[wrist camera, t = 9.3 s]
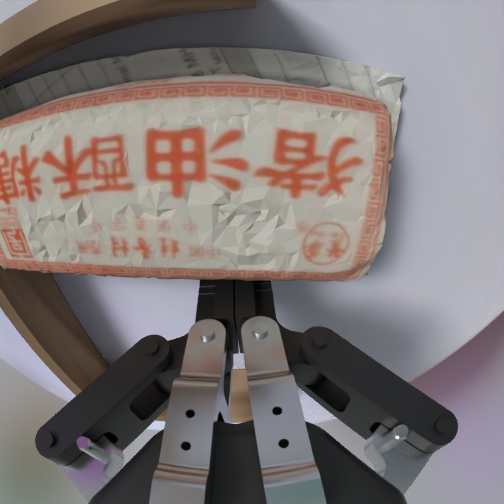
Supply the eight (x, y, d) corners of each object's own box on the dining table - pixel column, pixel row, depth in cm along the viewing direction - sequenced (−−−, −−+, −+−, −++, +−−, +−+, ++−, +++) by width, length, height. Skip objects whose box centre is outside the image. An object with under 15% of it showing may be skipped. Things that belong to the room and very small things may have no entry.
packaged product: (8, 307, 10) (-58, 111, 4) (45, 250, 14) (10, 86, 8) (382, 323, 12) (464, 89, 6) (352, 257, 16) (393, 73, 10)
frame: (252, -19, 7) (261, -57, 4) (265, 375, 22) (269, 420, 18) (-25, 75, 7) (-79, 95, 4) (104, 373, 21) (94, 412, 18)
